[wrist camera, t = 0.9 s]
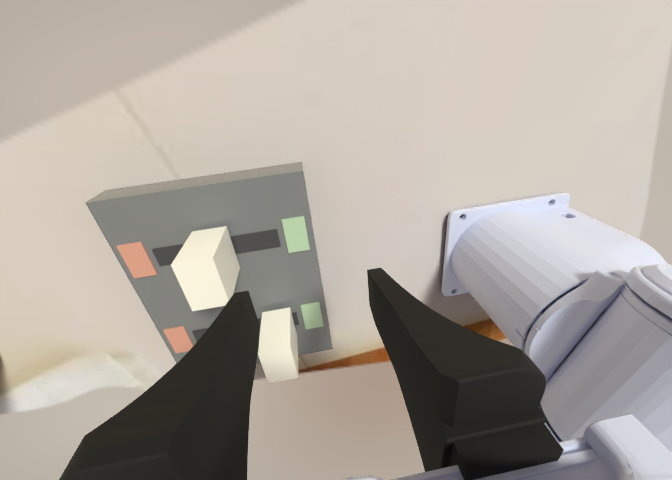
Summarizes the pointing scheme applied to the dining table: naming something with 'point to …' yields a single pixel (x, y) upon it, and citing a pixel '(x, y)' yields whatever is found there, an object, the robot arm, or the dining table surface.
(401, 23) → the dining table surface
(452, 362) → the robot arm
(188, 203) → the panel
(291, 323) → the block
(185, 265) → the block
